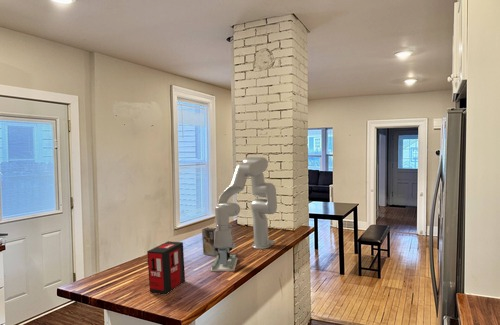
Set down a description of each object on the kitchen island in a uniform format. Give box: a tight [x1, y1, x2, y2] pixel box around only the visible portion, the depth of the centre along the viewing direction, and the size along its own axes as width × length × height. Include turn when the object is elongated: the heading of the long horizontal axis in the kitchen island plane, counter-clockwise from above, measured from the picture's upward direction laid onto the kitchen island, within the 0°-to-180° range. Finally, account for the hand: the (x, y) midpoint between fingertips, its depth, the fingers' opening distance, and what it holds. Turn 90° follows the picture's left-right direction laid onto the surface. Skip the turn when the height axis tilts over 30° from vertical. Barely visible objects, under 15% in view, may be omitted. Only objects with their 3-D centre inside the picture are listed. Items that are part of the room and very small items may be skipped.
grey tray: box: [210, 254, 239, 272], centre depth 193 cm, size 13×18×3 cm
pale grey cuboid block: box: [219, 248, 228, 264], centre depth 193 cm, size 4×10×7 cm, turn 176°
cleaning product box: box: [146, 240, 186, 295], centre depth 166 cm, size 16×9×20 cm, turn 159°
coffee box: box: [201, 227, 219, 257], centre depth 214 cm, size 9×6×16 cm
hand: (224, 258), depth 193 cm, fingers closed on pale grey cuboid block, 3 cm apart
